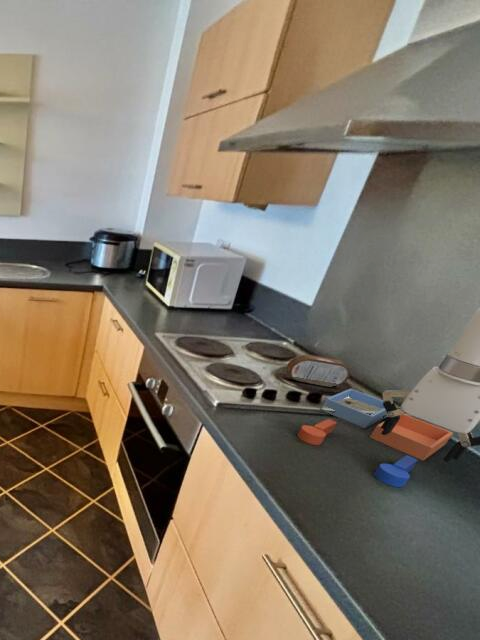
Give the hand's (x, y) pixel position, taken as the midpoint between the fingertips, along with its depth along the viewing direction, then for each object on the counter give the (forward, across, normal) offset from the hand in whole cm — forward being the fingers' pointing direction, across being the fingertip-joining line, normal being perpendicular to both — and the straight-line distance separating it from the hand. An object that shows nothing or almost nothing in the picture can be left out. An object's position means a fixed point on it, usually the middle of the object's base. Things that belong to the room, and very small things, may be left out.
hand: (415, 445), depth 84 cm
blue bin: (+7, +16, -22) cm, 28 cm away
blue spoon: (+7, 0, +2) cm, 7 cm away
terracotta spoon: (+7, +15, +1) cm, 16 cm away
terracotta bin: (+6, +4, -18) cm, 20 cm away
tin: (+7, +30, -31) cm, 44 cm away
